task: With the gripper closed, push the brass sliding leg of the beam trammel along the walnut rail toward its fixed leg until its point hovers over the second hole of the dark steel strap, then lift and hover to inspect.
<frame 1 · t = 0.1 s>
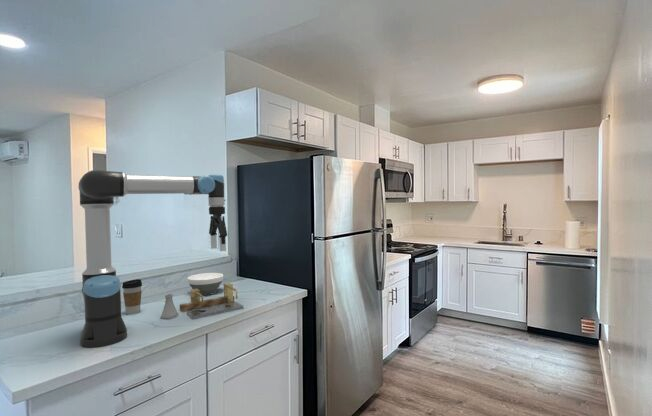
hand: (218, 249, 174), 28 cm above the worktop, fingers open, 13 cm apart
flask: (169, 317, 160), on the worktop
rail: (208, 306, 175), on the worktop
bowl: (206, 293, 203), on the worktop
hole plate: (215, 311, 167), on the worktop
coffee cup: (133, 312, 168), on the worktop
slider leg: (231, 294, 178), point 5 cm above the worktop, slide at 0.0 cm
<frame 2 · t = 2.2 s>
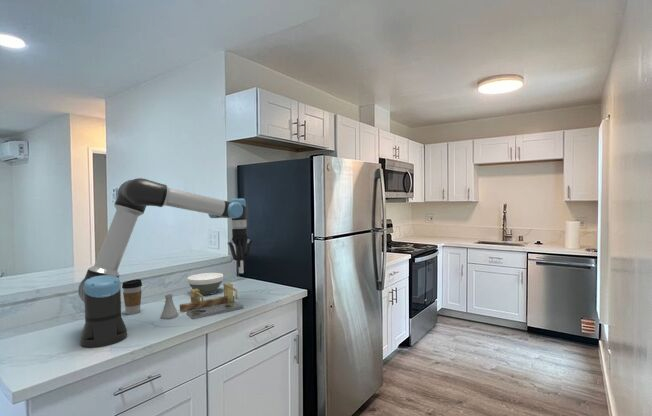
hand: (241, 272, 186), 14 cm above the worktop, fingers closed
nothing on the worktop moved.
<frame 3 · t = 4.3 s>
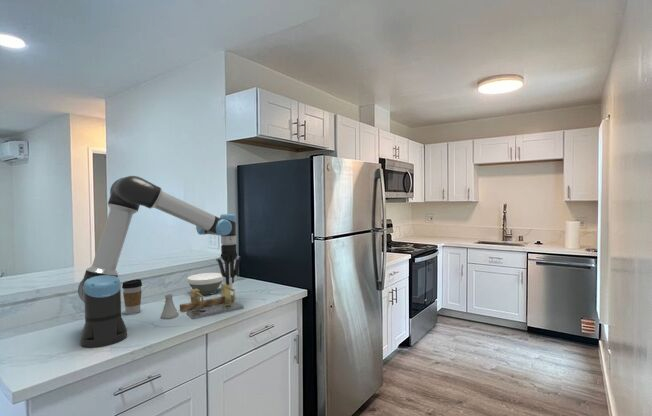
hand: (230, 289, 182), 6 cm above the worktop, fingers closed
slider leg: (229, 294, 177), point 5 cm above the worktop, slide at -1.3 cm, touching gripper
everything else where it was.
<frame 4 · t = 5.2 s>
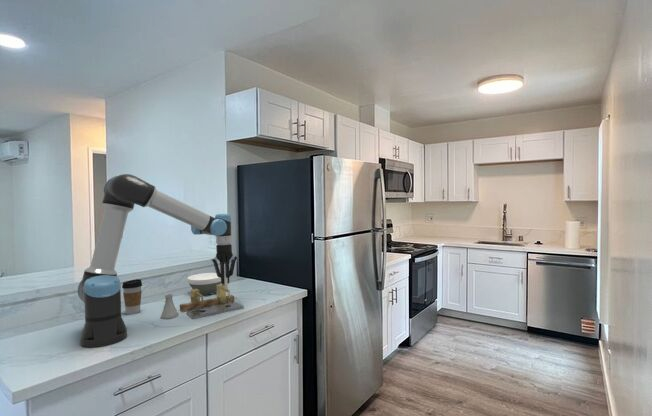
hand: (225, 290, 181), 6 cm above the worktop, fingers closed
slider leg: (224, 295, 176), point 5 cm above the worktop, slide at -3.7 cm, touching gripper
everything else where it was.
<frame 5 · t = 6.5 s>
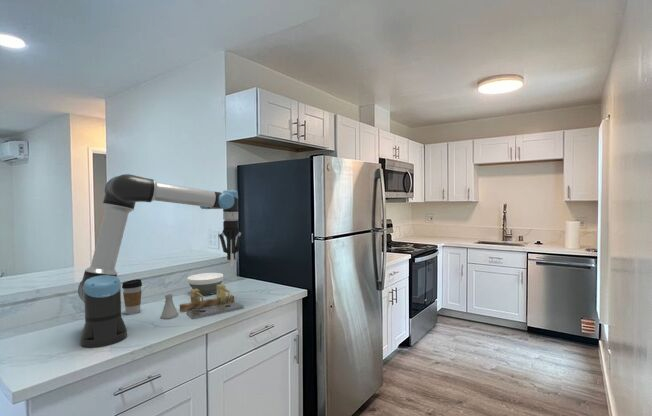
hand: (231, 266, 183), 18 cm above the worktop, fingers closed
slider leg: (224, 295, 176), point 5 cm above the worktop, slide at -3.7 cm
everything else where it was.
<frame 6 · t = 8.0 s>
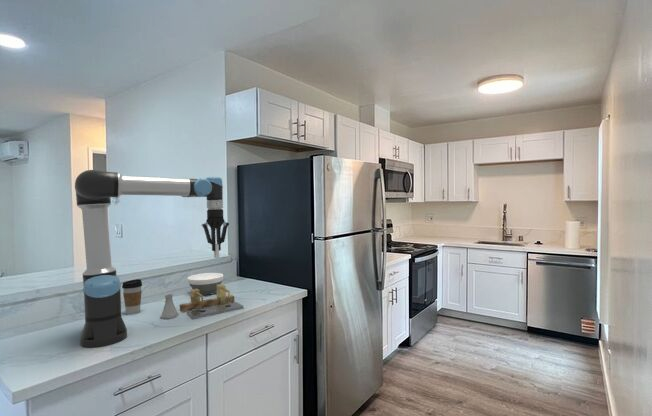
hand: (216, 257, 172), 24 cm above the worktop, fingers closed
nothing on the worktop moved.
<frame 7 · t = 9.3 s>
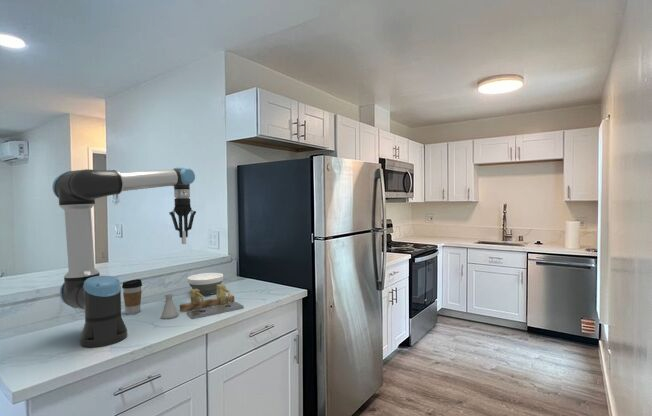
hand: (183, 243, 182), 30 cm above the worktop, fingers closed
nothing on the worktop moved.
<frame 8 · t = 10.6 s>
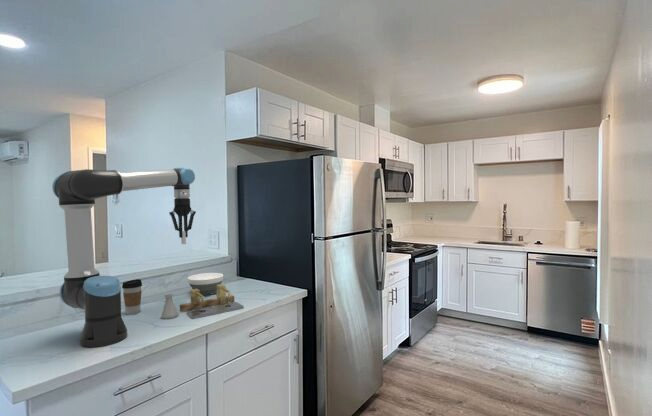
hand: (183, 243, 182), 30 cm above the worktop, fingers closed
nothing on the worktop moved.
at the end: slider leg slide at -3.7 cm; slider leg 0.8 cm from the target spot on the worktop beside the hole plate, resting on hole plate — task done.
